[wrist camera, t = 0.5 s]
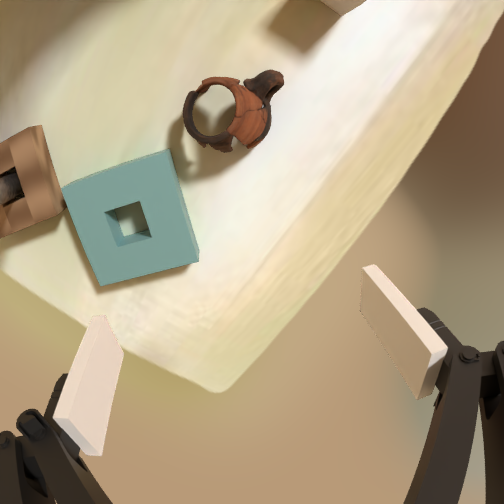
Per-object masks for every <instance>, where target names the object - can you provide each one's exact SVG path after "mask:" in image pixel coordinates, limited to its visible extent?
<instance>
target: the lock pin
mask: <svg viewBox="0 0 504 504" xmlns="http://www.w3.org/2000/svg"><path fill="white" fill-rule="evenodd" d="M21 193H23V189H22V186H21V183H20V180H19V177H18V174H17V171H16V172H14V173H11V174H9V175H7V176H4V177H2V178H0V206H1V205H2V204H4V203H6V202H7V201H9V200H11V199H12V198H14V197H16V196H18V195H19V194H21Z"/></svg>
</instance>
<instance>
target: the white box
mask: <svg viewBox="0 0 504 504" xmlns="http://www.w3.org/2000/svg"><path fill="white" fill-rule="evenodd" d="M320 1H321V2H323V3H324V4H326V5H327V6H328V7H330V8H331V9H332V10H334V11H335V12H337V13H338V14H339V15H340V16H343V15H344V14H346V13H348V12H349V11H351V10H353V9H354V8H356V7H358V6H360V5H361V4H362V3H364V2H365V1H366V0H320Z"/></svg>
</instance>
